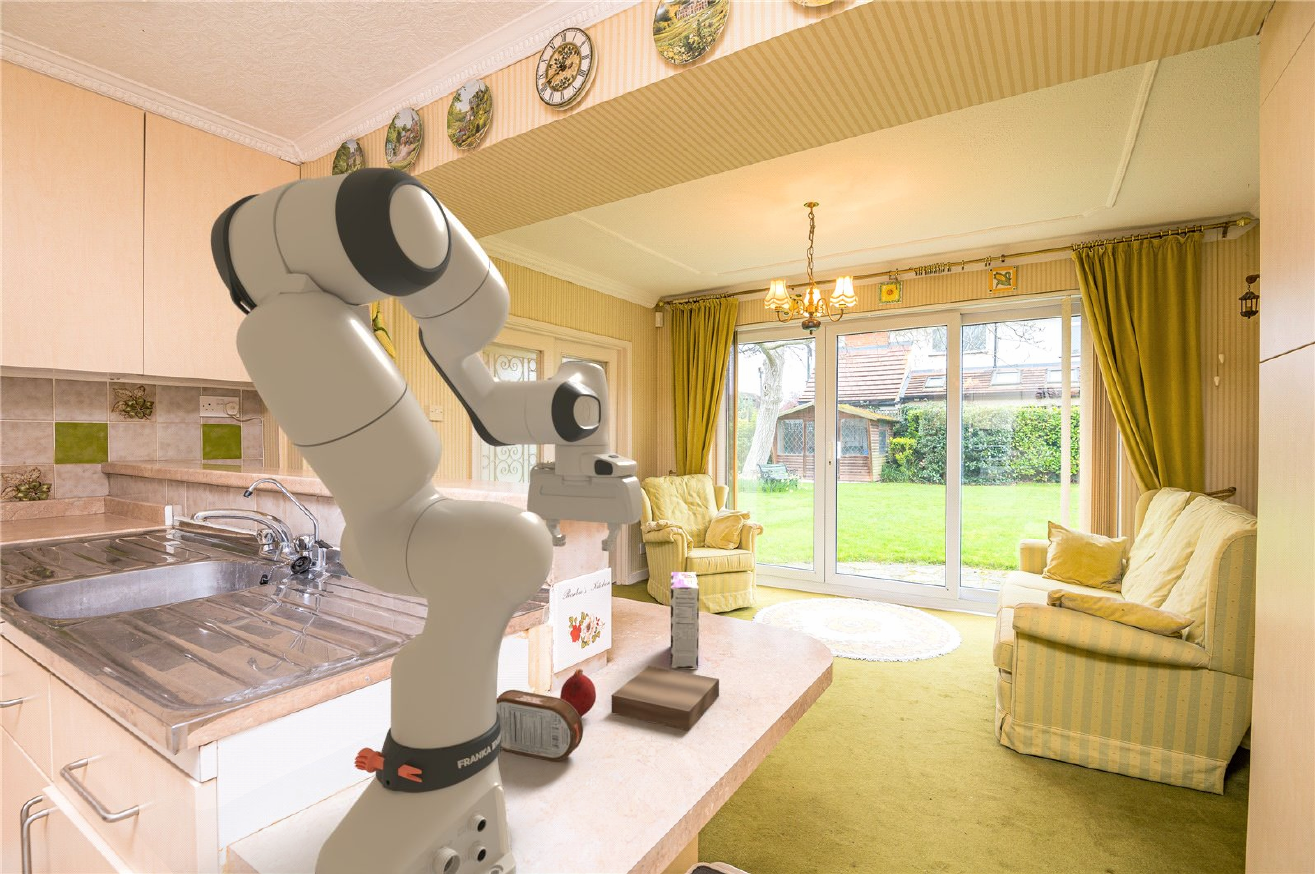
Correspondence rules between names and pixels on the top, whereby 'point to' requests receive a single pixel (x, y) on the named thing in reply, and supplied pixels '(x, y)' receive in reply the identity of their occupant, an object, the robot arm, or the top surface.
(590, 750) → the top surface
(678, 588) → the candy box
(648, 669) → the walnut block
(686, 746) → the top surface
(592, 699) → the onion
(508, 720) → the tin
